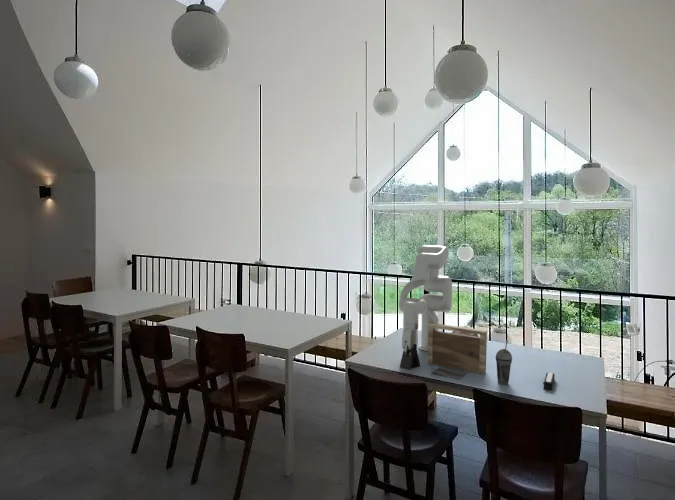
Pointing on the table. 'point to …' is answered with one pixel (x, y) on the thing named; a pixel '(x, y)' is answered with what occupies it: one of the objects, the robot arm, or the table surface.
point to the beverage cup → (503, 365)
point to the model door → (456, 350)
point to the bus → (549, 381)
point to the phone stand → (410, 359)
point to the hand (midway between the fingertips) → (410, 361)
